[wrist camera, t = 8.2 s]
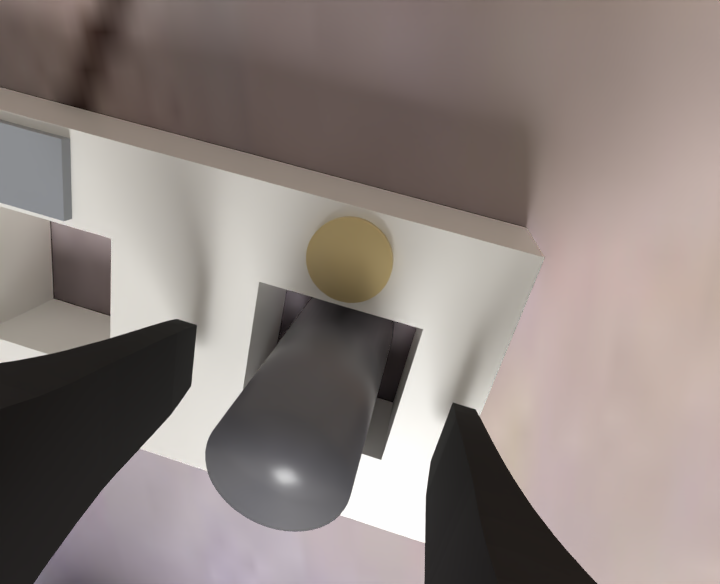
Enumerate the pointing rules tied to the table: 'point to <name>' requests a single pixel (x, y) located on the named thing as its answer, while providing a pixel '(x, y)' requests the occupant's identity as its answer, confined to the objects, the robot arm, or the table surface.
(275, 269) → the socket box
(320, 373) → the plug
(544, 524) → the robot arm
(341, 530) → the table surface
